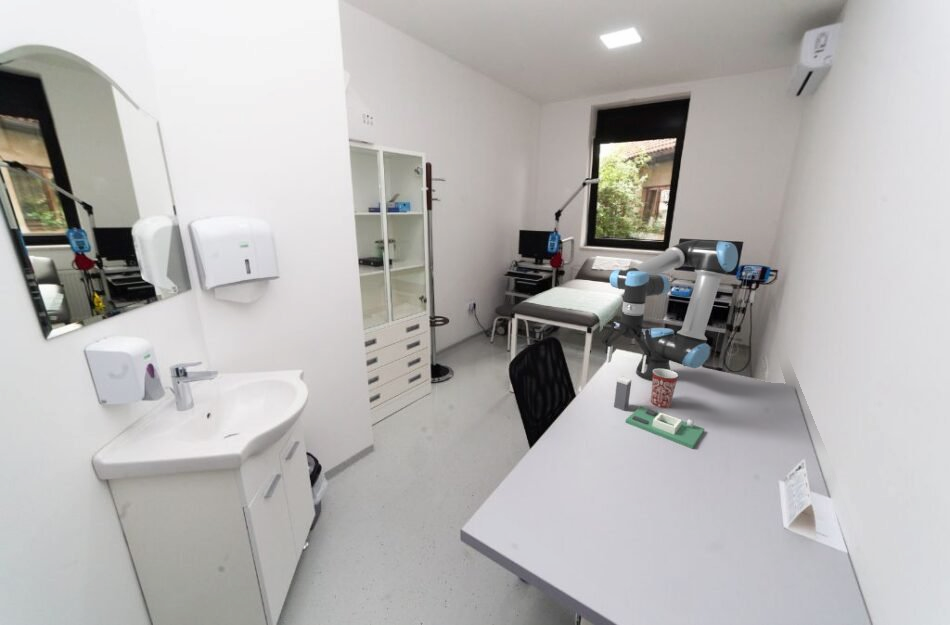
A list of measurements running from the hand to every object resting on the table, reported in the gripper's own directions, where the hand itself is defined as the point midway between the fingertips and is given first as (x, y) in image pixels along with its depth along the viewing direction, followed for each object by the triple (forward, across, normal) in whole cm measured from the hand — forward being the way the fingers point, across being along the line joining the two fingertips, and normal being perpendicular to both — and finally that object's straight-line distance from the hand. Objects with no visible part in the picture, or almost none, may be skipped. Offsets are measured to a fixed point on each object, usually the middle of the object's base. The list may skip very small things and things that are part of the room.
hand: (625, 366), depth 140 cm
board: (+17, +17, -3) cm, 24 cm away
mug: (+17, +10, +16) cm, 26 cm away
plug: (+17, 0, 0) cm, 17 cm away
